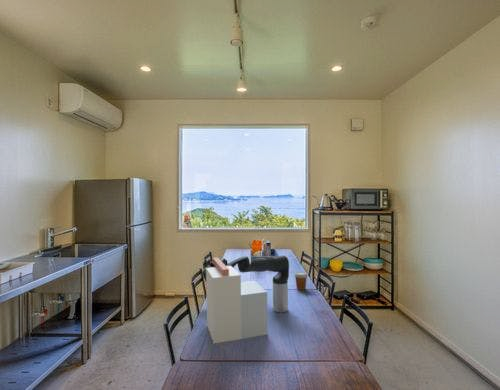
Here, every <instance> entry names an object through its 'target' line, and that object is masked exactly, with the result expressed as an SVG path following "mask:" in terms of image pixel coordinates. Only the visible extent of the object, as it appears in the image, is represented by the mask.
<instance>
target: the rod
mask: <svg viewBox="0 0 500 390" xmlns="http://www.w3.org/2000/svg"><path fill="white" fill-rule="evenodd" d="M212 261H213V264H214V265H215V266H216V268H217V269H218V270H219V271H220V273H221V274H222V275H223V276H226V275H229V269H228V268H227V267H226V266H225V265H224V264H223V262H222V260H221V259H220V258H219V257H212Z"/></svg>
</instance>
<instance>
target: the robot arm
mask: <svg viewBox="0 0 500 390" xmlns="http://www.w3.org/2000/svg"><path fill="white" fill-rule="evenodd" d="M221 261H222V263H223V264H224V265H225V266H232V267H233V268H234V269H235V267H236V265H237V268H238V271H239V272H240V273H244V274H245V273H251V272H255V273H258V272H259V273H260V272H261V273H262V272H267V271H268V272H273V273H277V274H275V275H274V276H273V278H272V310H273V311H274V312H276V313H285V312H288V311H289V296H288V295H289V294H288V293H289V288H288V287H289V286H288V283H289V282H288V280H289V278H290V261H289V258H288V257H287V256H286V255H278V256H274V257H270V258H269V257H268V258H265V257H256V258H254V259H252V261H251V262H250V258H249V257H248V256H246V255H245V256H241V257H238V258H236V259H234V260H232V261H230V262H228V259H226V258H222V260H221ZM211 267H216V266H215V265H214V264H213V260H211V259H208V260H206V261H203V263H202V269H203V270H202V273H201V275H202V277H203V279H204V281H205V283H206V268H211Z"/></svg>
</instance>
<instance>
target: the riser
mask: <svg viewBox="0 0 500 390" xmlns="http://www.w3.org/2000/svg"><path fill="white" fill-rule="evenodd" d="M226 267H227V268H228V269H229V275H226V276H223V275H222V274H221V273H220V271H219V270H218V269H217V268H216V267H211V268H207V267H206V268H205V269H206V282H205V286H206V327H208V328H207V330H208V333H209V332H210V333H209V335H210V337H211V340H213V341H212V343H213V344H214V345H215V343H216V344H221V342H222V343H226V342H227V341H228V342H233V341H239V340H245V339H250V338H256V337H261V336H267V335H268V334H269V333H268V332H269V331H268V330H269V329H268V291H267V290H265V288H263V287H262V286H261V285H260V284H259V283H258V282H257V281H256V280H250V281H249V280H248V281H241V280H242V278H241V274H240V273H239V272H238V271H237V270H236V269H235V267H234V268H233V267H232V266H226Z"/></svg>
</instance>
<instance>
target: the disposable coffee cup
mask: <svg viewBox="0 0 500 390" xmlns="http://www.w3.org/2000/svg"><path fill="white" fill-rule="evenodd" d="M294 276H295V277H294V278H295V286H296V290H297V289H298V290H297V291H301V290H303V291H305V290H306V288H307V287H306V286H307V279H308V278H307V277H308V273H307V272H305V271H296V272H295V273H294Z"/></svg>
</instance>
